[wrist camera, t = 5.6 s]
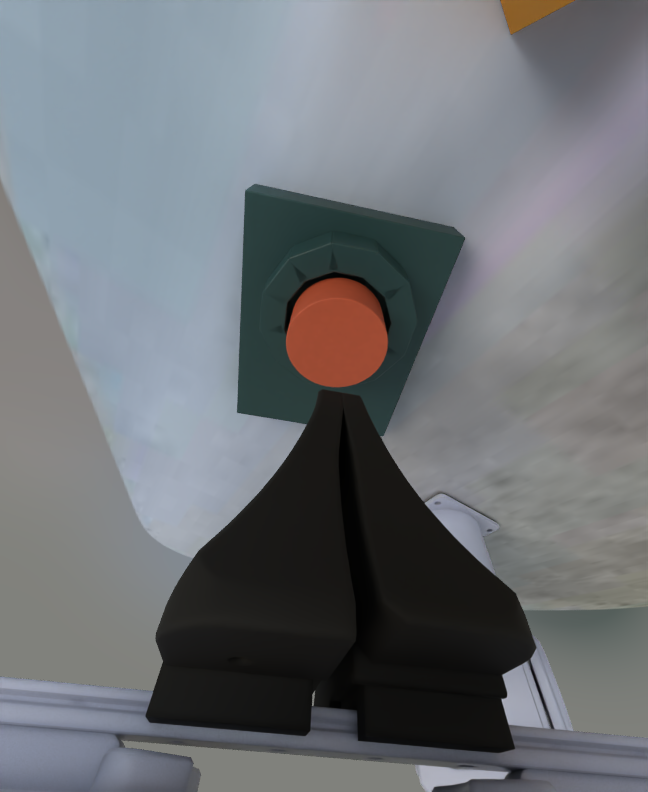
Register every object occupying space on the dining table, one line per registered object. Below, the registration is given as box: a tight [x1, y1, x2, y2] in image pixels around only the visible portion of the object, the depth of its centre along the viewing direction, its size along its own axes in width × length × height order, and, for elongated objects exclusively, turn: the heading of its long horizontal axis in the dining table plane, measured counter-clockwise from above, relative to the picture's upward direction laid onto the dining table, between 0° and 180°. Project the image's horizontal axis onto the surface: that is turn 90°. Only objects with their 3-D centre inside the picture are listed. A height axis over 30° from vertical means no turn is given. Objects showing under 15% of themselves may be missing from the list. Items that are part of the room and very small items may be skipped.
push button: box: [286, 278, 388, 387], centre depth 16 cm, size 4×4×2 cm
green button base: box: [237, 184, 465, 436], centre depth 19 cm, size 13×10×4 cm
